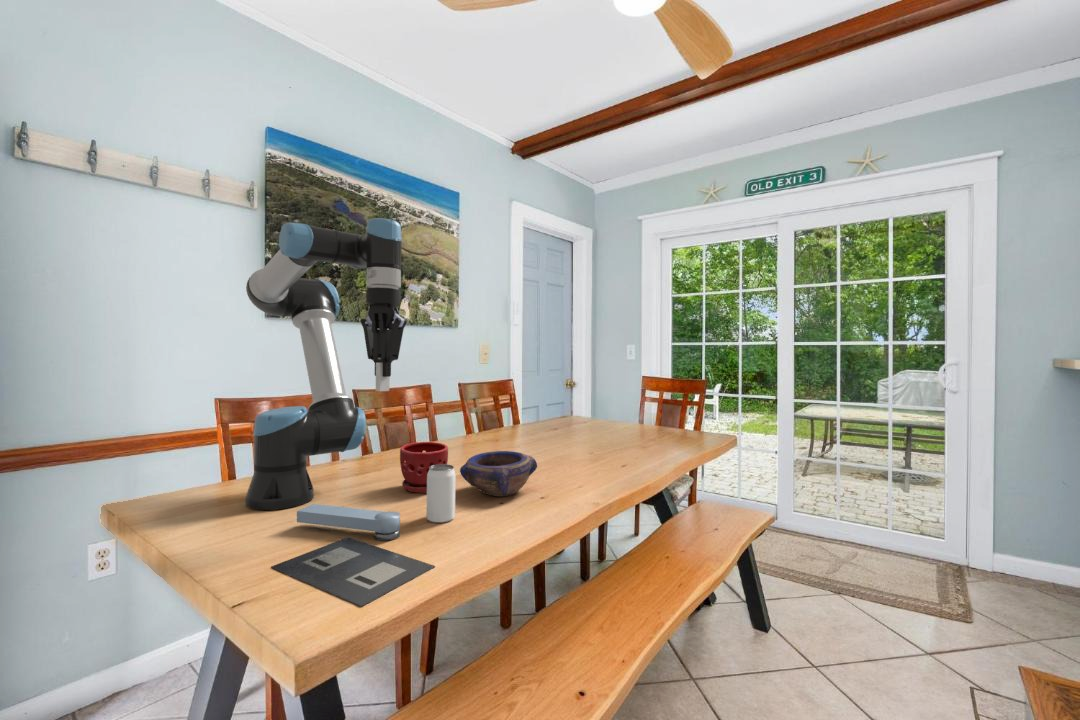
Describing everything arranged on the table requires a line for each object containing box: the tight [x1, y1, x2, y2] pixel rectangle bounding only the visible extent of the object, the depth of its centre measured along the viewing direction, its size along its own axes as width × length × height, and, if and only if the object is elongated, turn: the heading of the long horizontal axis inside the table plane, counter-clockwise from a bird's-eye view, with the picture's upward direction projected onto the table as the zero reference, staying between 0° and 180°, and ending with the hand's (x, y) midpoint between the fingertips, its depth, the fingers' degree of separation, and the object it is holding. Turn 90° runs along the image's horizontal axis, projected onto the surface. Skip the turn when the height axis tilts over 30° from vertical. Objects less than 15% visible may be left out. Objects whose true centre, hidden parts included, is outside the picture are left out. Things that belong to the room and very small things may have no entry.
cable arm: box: [296, 503, 401, 533], centre depth 102 cm, size 5×22×3 cm, turn 77°
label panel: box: [270, 536, 436, 608], centre depth 86 cm, size 24×16×1 cm, turn 59°
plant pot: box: [399, 441, 449, 494], centre depth 134 cm, size 13×13×12 cm
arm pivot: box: [374, 528, 401, 542], centre depth 100 cm, size 5×5×1 cm
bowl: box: [459, 450, 538, 497], centre depth 132 cm, size 18×18×10 cm
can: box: [426, 463, 456, 524], centre depth 111 cm, size 6×6×12 cm
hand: (382, 390), depth 111 cm, fingers closed
